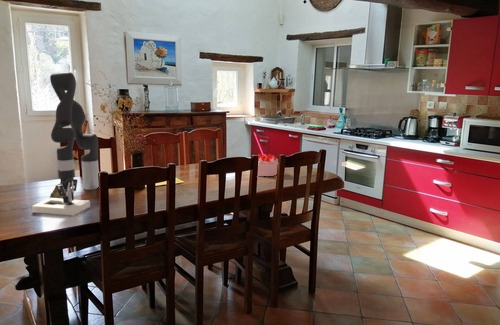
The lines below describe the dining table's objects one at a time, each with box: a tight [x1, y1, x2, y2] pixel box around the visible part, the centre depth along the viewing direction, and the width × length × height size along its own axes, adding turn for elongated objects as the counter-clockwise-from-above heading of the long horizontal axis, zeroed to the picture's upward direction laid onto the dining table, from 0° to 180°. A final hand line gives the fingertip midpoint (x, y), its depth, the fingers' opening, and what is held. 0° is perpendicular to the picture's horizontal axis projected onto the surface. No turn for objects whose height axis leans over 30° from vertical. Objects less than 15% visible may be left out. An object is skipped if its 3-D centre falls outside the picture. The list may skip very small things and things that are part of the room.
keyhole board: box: [31, 197, 91, 217], centre depth 191 cm, size 14×22×4 cm, turn 81°
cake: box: [257, 153, 279, 177], centre depth 277 cm, size 20×20×14 cm
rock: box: [49, 183, 63, 199], centre depth 207 cm, size 11×9×10 cm
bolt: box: [64, 187, 72, 205], centre depth 190 cm, size 5×5×12 cm
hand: (68, 201), depth 190 cm, fingers open, 3 cm apart
